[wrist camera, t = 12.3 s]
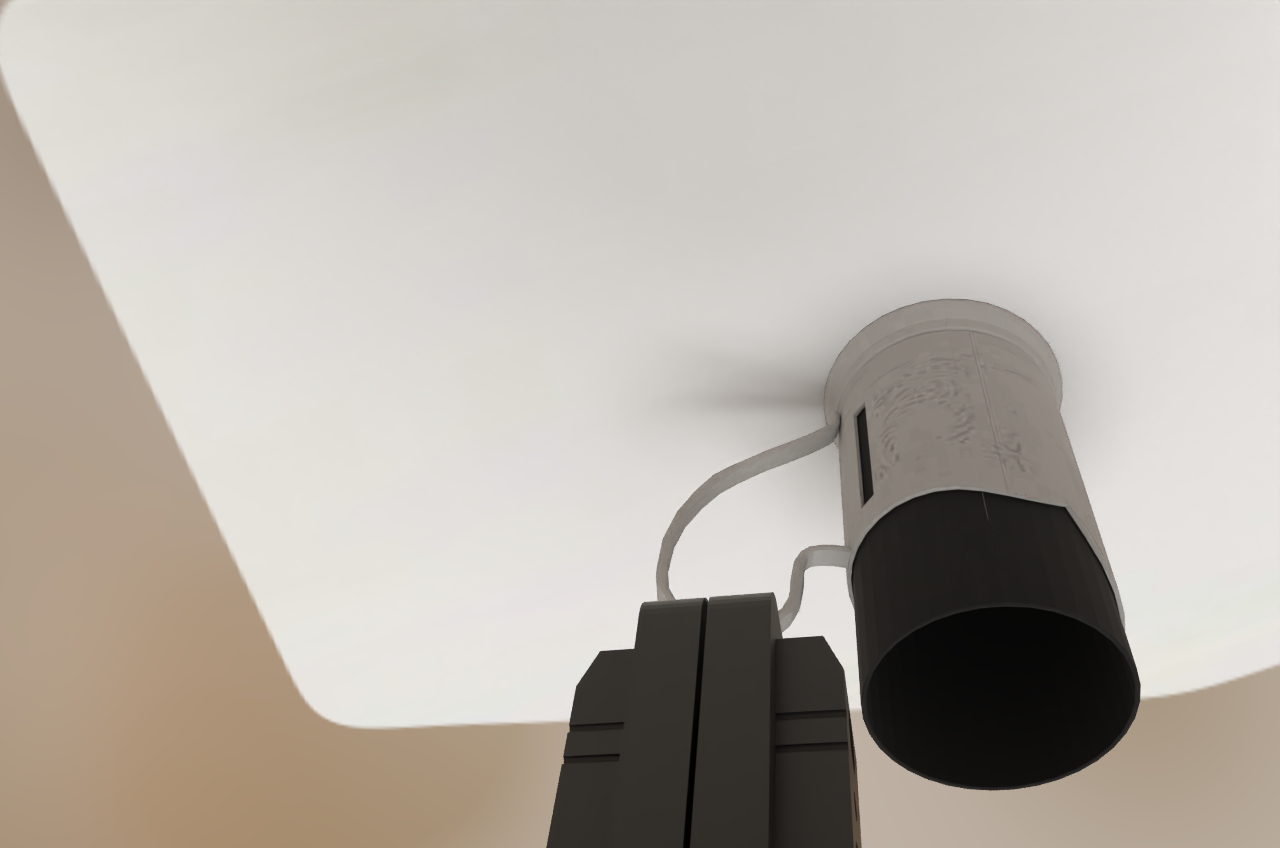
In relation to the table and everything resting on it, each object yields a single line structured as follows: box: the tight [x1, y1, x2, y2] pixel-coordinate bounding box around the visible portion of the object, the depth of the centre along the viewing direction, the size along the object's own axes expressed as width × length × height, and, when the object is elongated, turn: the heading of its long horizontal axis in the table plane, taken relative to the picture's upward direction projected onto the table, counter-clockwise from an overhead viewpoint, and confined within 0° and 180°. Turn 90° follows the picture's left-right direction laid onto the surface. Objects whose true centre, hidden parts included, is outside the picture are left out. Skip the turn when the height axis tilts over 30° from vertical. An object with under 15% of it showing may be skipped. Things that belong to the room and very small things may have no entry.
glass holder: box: [656, 299, 1141, 790], centre depth 40 cm, size 9×14×15 cm, turn 87°
